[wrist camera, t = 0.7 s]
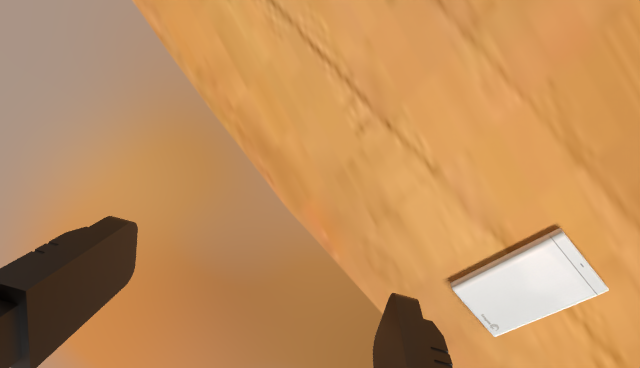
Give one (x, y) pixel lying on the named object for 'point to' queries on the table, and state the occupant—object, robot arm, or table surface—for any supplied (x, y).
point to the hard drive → (529, 284)
